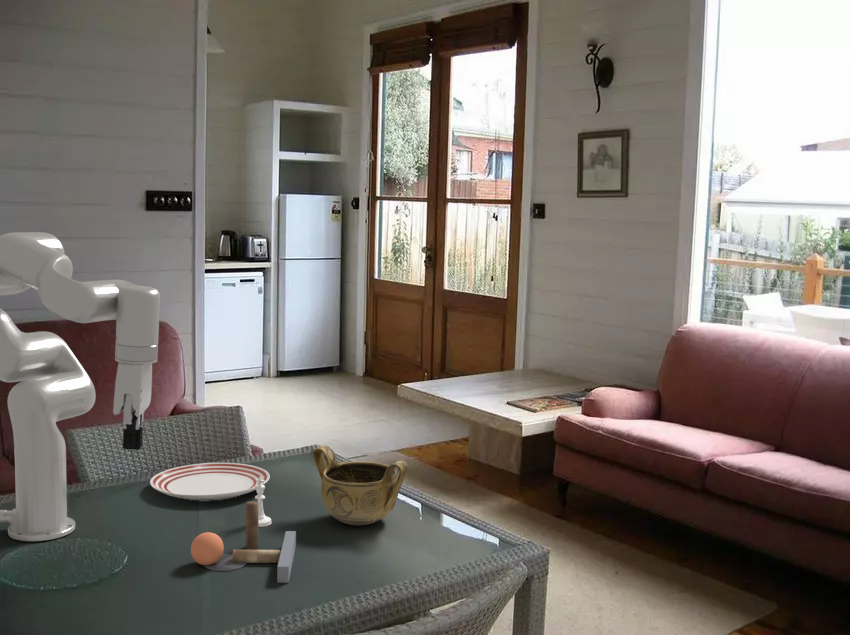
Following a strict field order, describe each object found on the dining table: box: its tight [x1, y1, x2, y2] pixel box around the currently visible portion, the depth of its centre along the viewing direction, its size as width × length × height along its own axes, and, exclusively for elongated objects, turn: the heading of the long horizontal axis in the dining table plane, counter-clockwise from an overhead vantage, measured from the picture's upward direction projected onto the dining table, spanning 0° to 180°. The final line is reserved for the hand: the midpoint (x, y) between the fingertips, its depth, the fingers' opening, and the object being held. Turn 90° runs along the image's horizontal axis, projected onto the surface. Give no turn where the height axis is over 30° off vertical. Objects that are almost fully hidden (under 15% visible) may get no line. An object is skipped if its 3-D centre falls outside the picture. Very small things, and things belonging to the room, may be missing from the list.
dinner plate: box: [149, 462, 271, 501], centre depth 218 cm, size 27×27×3 cm
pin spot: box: [203, 553, 248, 572], centre depth 174 cm, size 8×8×1 cm
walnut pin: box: [245, 500, 259, 550], centre depth 182 cm, size 2×2×9 cm
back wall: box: [276, 530, 297, 584], centre depth 175 cm, size 2×18×3 cm, turn 4°
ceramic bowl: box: [312, 444, 409, 527], centre depth 199 cm, size 22×17×15 cm
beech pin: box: [232, 549, 282, 564], centre depth 175 cm, size 2×2×9 cm
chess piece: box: [254, 477, 272, 528], centre depth 196 cm, size 5×5×10 cm
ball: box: [190, 531, 225, 566], centre depth 173 cm, size 6×6×6 cm
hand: (132, 447), depth 174 cm, fingers closed
